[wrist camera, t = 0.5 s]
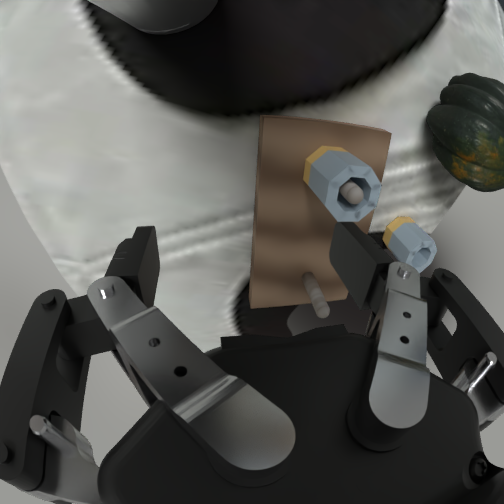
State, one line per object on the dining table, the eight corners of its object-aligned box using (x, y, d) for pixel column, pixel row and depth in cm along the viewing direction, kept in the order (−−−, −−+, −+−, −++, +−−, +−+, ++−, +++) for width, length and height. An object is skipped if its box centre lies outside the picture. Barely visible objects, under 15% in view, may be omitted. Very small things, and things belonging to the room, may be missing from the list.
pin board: (260, 114, 25) (283, 131, 18) (381, 129, 27) (432, 153, 20) (248, 298, 39) (259, 349, 32) (340, 289, 41) (364, 334, 34)
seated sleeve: (307, 144, 25) (332, 163, 20) (354, 148, 26) (385, 168, 21) (301, 193, 28) (321, 221, 23) (345, 194, 29) (372, 221, 24)
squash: (425, 64, 18) (524, 197, 14) (492, 46, 16) (568, 146, 12) (398, 134, 31) (460, 229, 28) (460, 103, 29) (515, 183, 26)
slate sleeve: (389, 216, 34) (414, 241, 29) (416, 217, 35) (441, 240, 30) (379, 248, 37) (400, 275, 32) (405, 247, 38) (427, 271, 33)
